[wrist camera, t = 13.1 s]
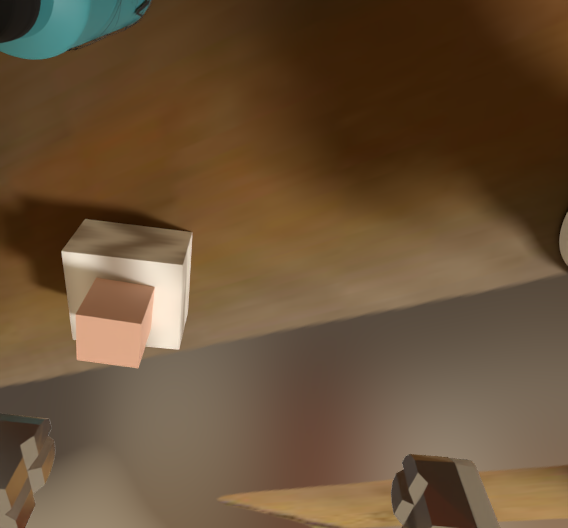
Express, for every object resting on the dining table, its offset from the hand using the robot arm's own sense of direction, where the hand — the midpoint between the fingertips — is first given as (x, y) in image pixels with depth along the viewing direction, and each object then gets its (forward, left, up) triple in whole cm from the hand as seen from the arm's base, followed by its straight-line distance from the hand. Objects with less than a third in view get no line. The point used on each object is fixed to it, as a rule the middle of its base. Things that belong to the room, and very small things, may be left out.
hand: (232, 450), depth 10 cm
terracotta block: (+9, +18, -26) cm, 33 cm away
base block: (+9, +18, -32) cm, 38 cm away
